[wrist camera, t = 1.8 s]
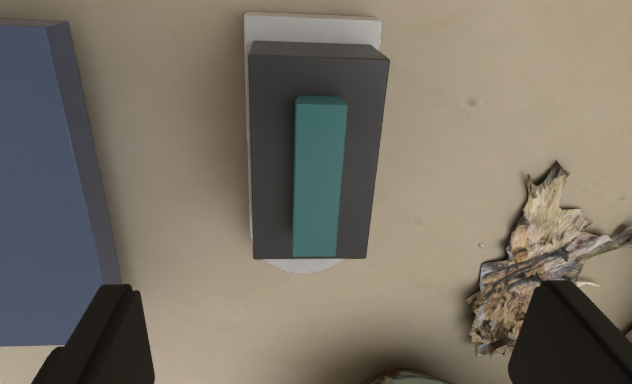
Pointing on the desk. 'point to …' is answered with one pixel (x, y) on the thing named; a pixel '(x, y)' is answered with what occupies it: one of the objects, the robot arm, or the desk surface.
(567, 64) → the desk surface
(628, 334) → the mineral specimen
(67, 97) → the blue rectangular board
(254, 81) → the iron
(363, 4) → the desk surface
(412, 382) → the bowl
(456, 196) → the desk surface
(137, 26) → the desk surface
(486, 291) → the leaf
